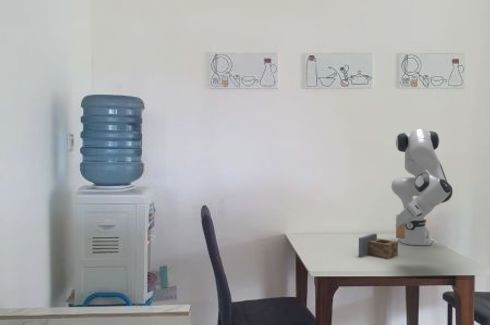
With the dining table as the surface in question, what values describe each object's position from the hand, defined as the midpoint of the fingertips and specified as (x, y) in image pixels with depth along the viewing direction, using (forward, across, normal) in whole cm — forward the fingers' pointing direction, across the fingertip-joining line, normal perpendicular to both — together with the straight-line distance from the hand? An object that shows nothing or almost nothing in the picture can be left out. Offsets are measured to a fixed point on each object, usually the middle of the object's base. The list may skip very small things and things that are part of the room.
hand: (399, 225), depth 208 cm
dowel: (+4, 0, +5) cm, 6 cm away
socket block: (+23, -12, +4) cm, 26 cm away
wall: (+28, -8, -1) cm, 29 cm away
